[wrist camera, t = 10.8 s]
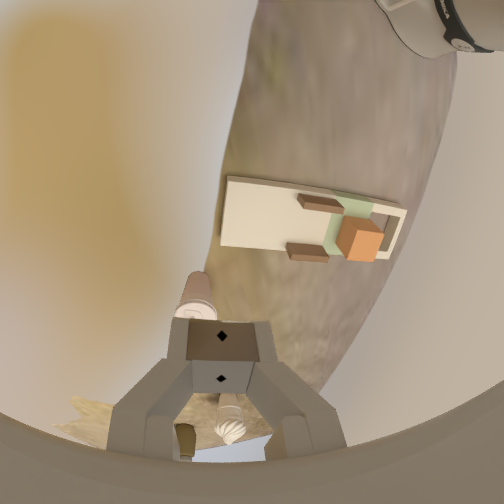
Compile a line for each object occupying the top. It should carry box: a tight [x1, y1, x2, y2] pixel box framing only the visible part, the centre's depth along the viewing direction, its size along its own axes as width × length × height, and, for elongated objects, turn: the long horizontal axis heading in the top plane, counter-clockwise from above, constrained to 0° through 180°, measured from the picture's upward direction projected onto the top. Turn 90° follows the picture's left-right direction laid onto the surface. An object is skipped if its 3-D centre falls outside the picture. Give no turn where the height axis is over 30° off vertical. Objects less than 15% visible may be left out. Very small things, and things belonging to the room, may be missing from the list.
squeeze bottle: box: [175, 424, 196, 462], centre depth 73 cm, size 8×8×18 cm
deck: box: [220, 175, 407, 263], centre depth 41 cm, size 10×30×6 cm, turn 81°
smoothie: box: [175, 271, 217, 320], centre depth 42 cm, size 6×6×14 cm
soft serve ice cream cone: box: [214, 393, 247, 445], centre depth 63 cm, size 8×8×16 cm
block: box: [335, 215, 384, 262], centre depth 40 cm, size 5×5×5 cm
